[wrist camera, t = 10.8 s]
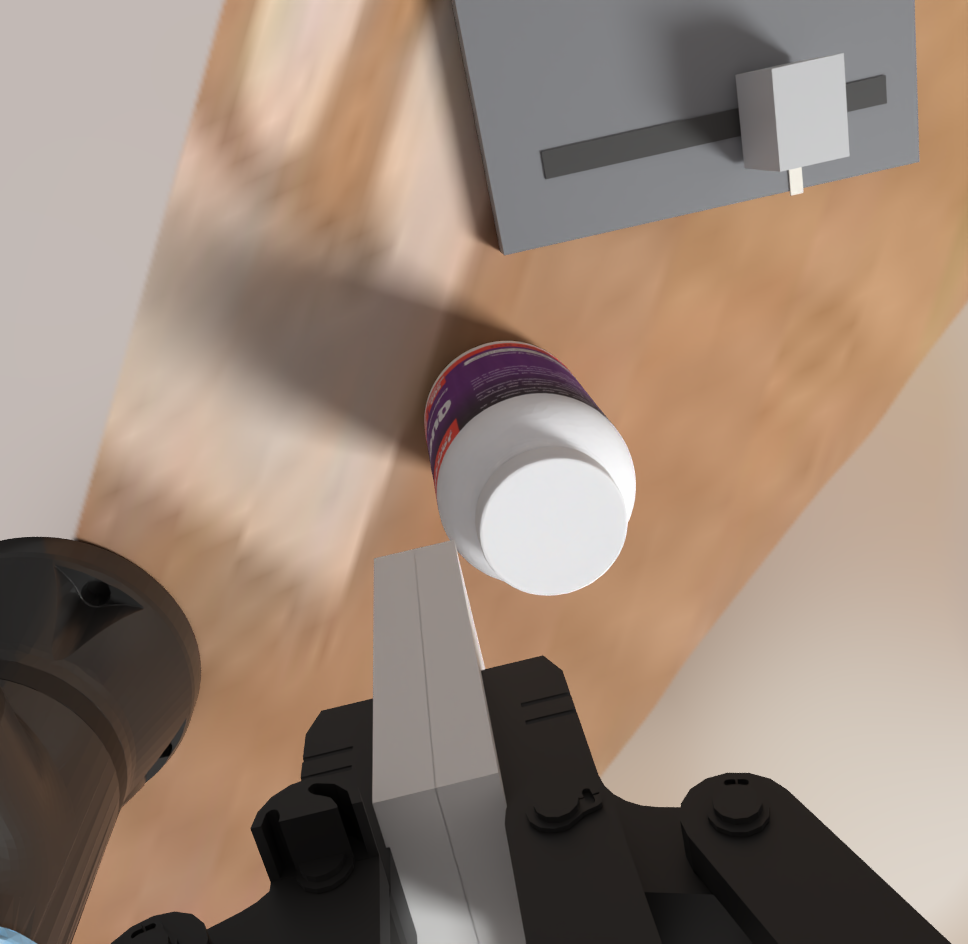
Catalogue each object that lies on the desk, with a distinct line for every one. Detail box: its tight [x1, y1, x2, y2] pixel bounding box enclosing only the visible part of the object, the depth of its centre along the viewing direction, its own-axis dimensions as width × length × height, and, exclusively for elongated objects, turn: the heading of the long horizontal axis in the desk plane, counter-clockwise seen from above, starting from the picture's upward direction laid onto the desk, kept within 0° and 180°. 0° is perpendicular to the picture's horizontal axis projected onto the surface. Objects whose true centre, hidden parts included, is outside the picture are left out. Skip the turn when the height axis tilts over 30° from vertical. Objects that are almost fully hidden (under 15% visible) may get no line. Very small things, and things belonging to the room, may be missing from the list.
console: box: [451, 0, 919, 255], centre depth 41 cm, size 20×16×2 cm
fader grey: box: [735, 53, 850, 172], centre depth 39 cm, size 3×4×4 cm
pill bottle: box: [424, 341, 636, 596], centre depth 40 cm, size 8×8×14 cm
